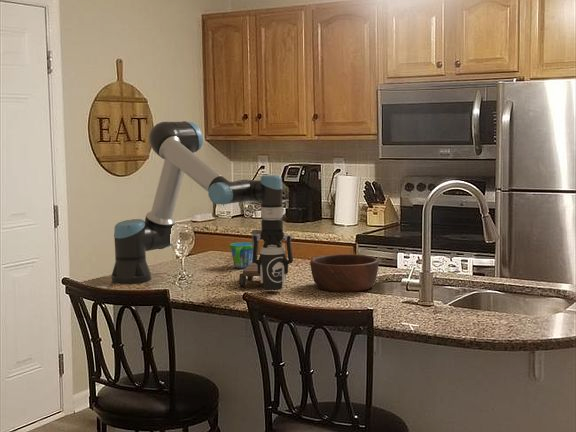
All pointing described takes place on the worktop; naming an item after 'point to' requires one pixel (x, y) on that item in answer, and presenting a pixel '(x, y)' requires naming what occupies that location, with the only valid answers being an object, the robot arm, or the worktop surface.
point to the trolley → (250, 266)
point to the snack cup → (242, 254)
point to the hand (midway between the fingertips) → (273, 282)
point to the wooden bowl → (344, 272)
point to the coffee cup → (272, 266)
